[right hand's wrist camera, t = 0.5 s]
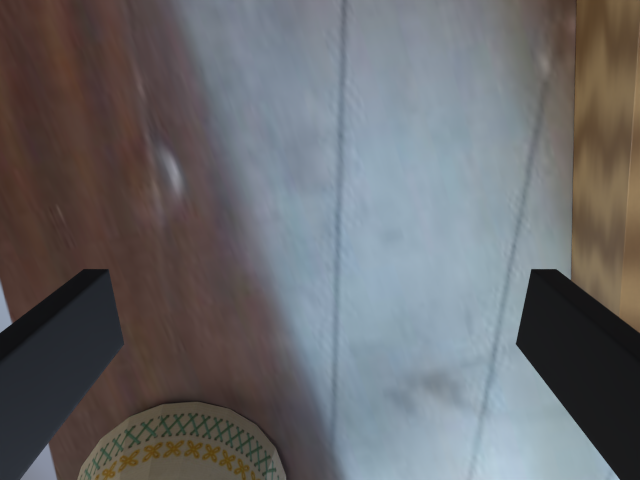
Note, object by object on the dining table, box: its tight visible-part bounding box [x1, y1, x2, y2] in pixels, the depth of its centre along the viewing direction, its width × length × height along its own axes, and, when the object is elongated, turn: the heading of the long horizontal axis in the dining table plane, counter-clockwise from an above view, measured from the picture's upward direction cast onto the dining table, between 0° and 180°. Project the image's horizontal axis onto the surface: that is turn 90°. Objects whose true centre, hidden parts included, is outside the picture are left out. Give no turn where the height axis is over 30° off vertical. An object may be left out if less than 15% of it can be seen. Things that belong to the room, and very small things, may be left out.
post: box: [571, 0, 640, 333], centre depth 31 cm, size 58×5×7 cm, turn 12°
